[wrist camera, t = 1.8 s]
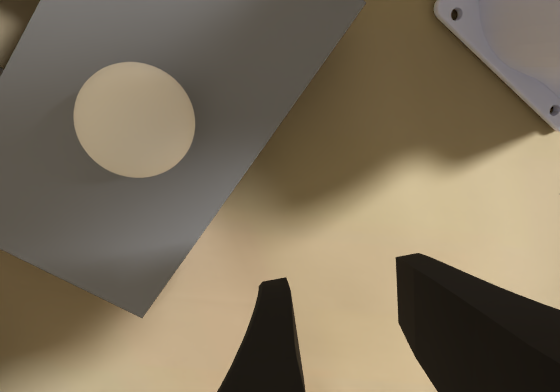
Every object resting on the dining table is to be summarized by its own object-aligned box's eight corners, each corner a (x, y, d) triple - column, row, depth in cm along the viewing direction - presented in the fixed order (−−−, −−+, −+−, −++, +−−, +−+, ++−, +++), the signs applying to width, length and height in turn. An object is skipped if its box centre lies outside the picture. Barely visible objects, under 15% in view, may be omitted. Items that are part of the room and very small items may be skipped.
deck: (339, 15, 16) (366, 2, 13) (157, 275, 19) (142, 318, 16) (-14, -292, 12) (-105, -424, 9) (-178, 98, 15) (-292, 106, 12)
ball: (218, 103, 14) (213, 114, 10) (166, 180, 14) (146, 214, 11) (129, 40, 13) (92, 30, 9) (78, 126, 13) (27, 146, 10)
